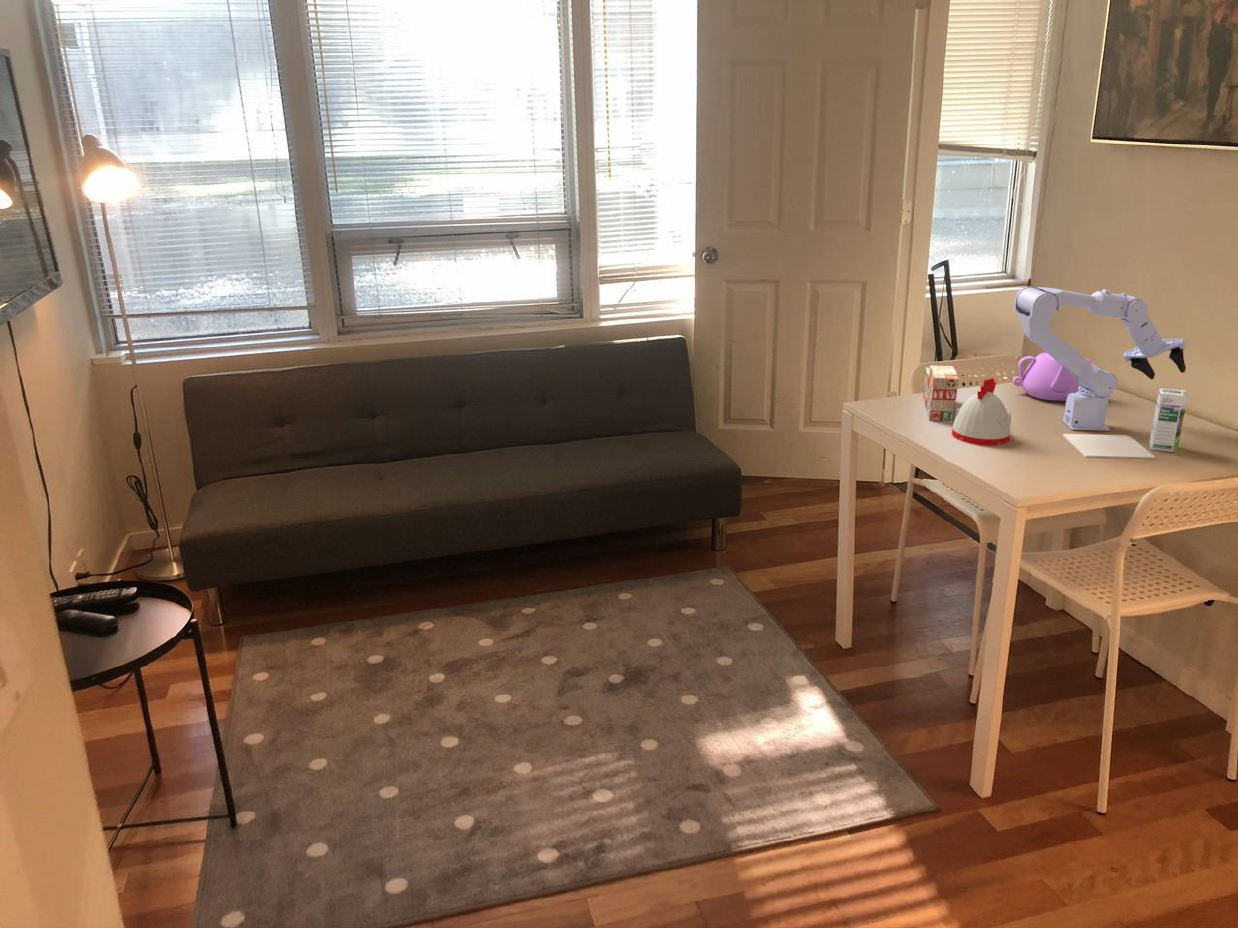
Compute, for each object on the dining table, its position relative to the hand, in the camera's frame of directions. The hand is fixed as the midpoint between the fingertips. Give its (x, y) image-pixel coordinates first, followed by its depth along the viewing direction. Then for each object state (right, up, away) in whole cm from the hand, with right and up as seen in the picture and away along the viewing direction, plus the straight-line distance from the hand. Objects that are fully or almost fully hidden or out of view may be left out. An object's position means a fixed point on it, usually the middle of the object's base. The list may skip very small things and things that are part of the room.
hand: (1168, 373), depth 252 cm
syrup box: (-9, -20, -13) cm, 25 cm away
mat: (-22, -19, -12) cm, 32 cm away
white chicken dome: (-50, -17, -4) cm, 53 cm away
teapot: (-18, -5, +27) cm, 32 cm away
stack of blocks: (-54, -9, +17) cm, 58 cm away
